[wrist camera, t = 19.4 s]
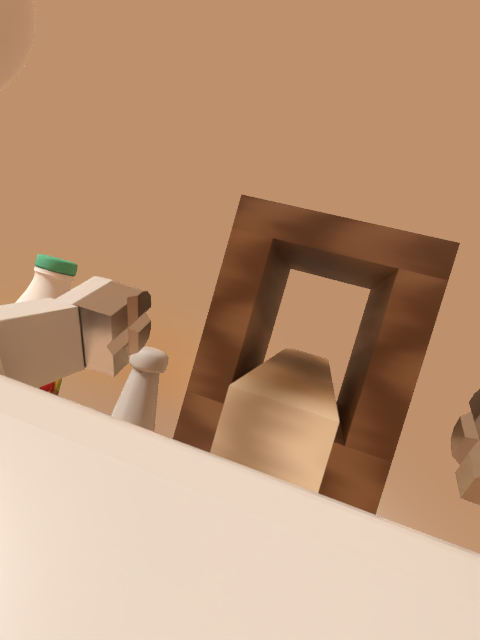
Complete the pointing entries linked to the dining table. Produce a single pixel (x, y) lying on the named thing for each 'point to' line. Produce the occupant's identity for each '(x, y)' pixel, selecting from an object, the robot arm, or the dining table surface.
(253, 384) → the pine bar
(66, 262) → the milk bottle
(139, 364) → the salt shaker
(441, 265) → the walnut cabinet
